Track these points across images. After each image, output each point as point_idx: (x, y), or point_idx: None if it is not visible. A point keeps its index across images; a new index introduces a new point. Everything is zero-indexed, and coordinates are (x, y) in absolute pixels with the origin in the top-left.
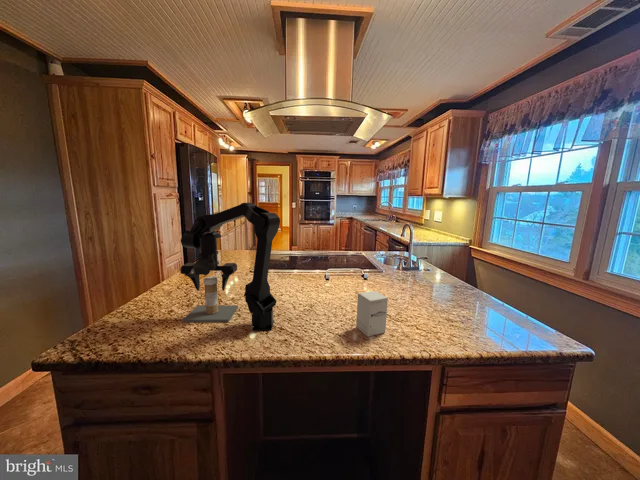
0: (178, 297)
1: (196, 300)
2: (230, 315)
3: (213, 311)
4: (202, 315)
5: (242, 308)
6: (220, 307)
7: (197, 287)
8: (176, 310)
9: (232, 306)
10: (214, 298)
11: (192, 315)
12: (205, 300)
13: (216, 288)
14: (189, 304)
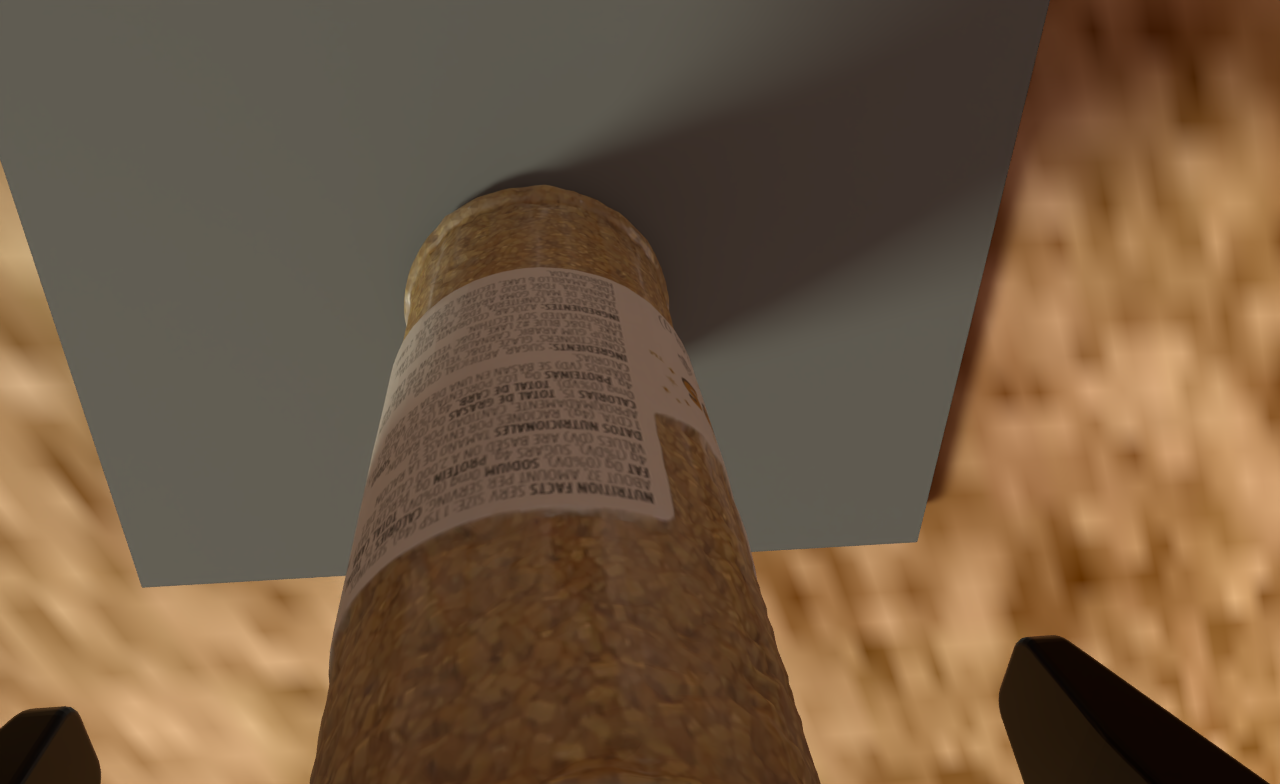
0: (1249, 768)
1: (985, 719)
2: (6, 138)
3: (461, 232)
4: (688, 144)
5: (48, 534)
6: None
7: (1112, 732)
8: (1226, 414)
9: (229, 541)
10: (397, 431)
11: (902, 141)
12: (686, 384)
13: (313, 778)
14: (1060, 606)
